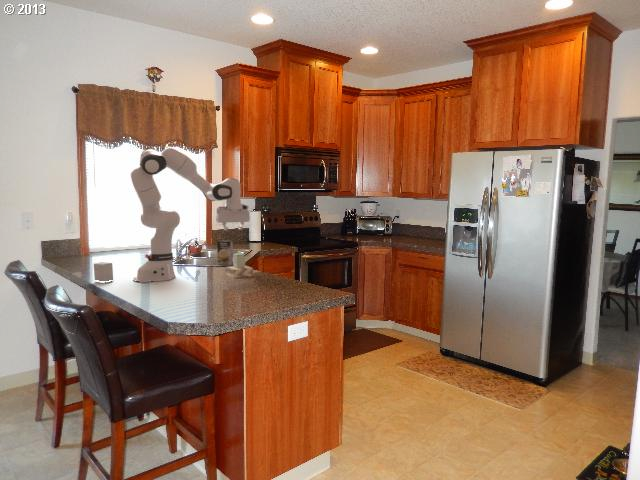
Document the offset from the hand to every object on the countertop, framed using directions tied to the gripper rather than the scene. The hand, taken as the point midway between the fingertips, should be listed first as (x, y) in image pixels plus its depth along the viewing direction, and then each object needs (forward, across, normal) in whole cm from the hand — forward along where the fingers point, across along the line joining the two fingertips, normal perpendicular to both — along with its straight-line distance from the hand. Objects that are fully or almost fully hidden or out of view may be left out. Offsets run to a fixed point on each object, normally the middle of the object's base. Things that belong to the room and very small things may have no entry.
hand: (233, 230), depth 275 cm
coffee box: (+26, +13, +36) cm, 46 cm away
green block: (+22, +1, -4) cm, 22 cm away
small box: (+28, -66, +23) cm, 75 cm away
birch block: (+27, +1, -5) cm, 27 cm away
